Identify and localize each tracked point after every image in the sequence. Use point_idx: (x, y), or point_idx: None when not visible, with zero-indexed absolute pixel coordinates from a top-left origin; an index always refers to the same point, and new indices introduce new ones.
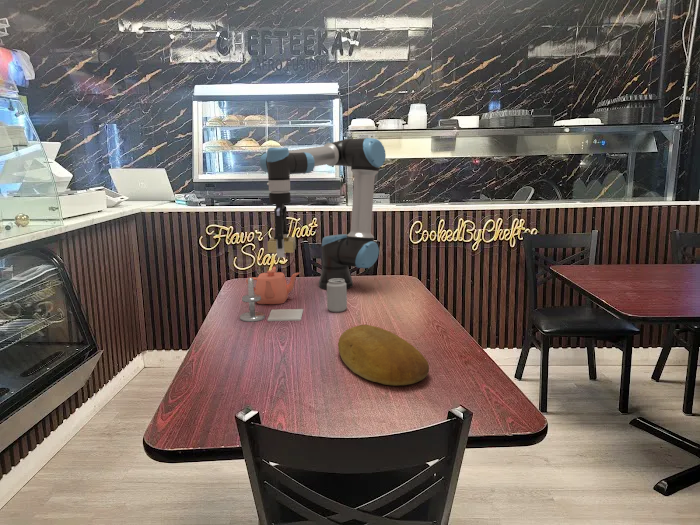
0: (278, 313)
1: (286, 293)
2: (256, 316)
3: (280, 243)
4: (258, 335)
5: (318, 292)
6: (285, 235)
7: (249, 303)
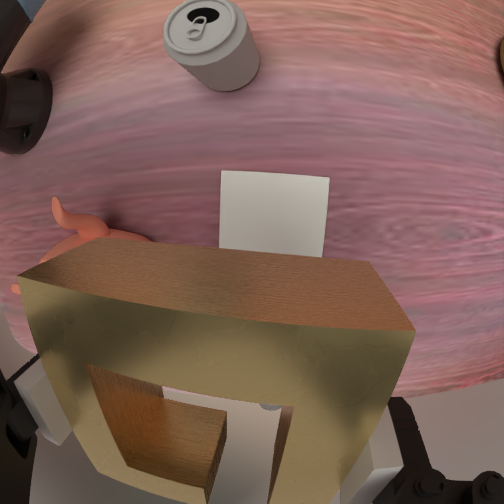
0: (262, 250)
1: (119, 234)
2: None
3: (416, 446)
4: (424, 293)
5: (60, 144)
6: (40, 397)
7: None
